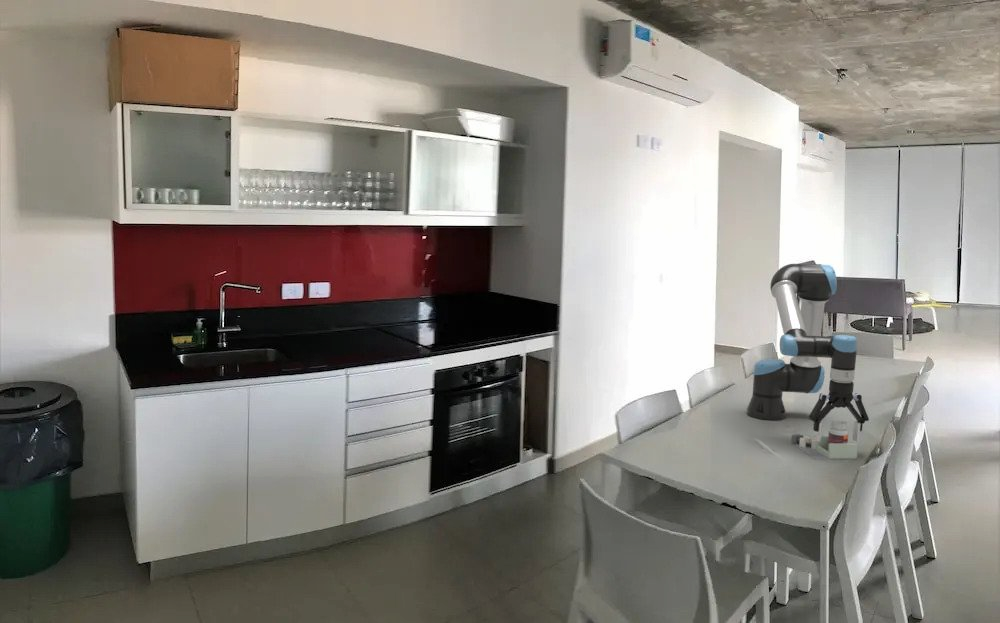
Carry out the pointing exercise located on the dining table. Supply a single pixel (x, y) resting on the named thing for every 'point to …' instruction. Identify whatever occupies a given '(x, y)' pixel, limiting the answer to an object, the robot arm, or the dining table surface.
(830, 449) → the end holder
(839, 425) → the pill bottle
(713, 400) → the dining table surface
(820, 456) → the board
